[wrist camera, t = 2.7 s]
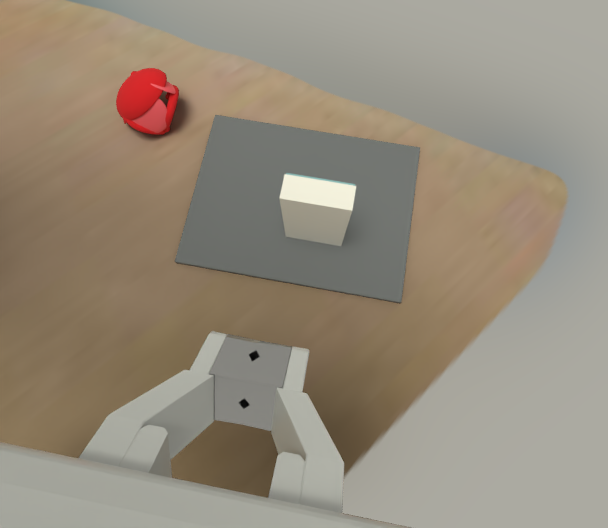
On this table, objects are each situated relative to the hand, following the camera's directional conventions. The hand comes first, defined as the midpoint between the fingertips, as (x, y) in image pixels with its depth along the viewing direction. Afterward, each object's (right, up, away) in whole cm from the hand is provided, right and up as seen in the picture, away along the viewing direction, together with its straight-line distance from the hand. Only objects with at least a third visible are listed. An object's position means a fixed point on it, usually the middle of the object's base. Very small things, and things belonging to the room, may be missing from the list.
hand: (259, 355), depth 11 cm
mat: (+1, +9, +31) cm, 32 cm away
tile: (+3, +6, +29) cm, 30 cm away
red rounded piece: (-16, +20, +34) cm, 42 cm away
